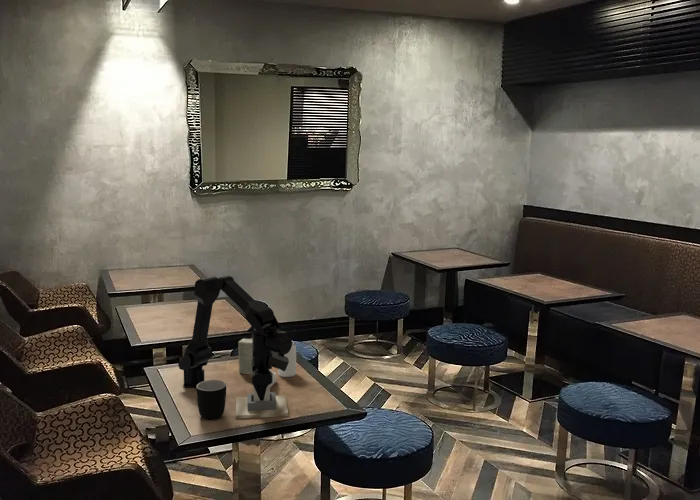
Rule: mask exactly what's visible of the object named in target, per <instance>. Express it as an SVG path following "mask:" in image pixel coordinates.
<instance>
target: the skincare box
mask: <svg viewBox="0 0 700 500" xmlns="http://www.w3.org/2000/svg"><path fill="white" fill-rule="evenodd" d="M237 344H238V345H237V346H238V347H237V348H238V373H239V374H245V375H246V374H247V375H252V373H253V371H252V364H251V358H252V338H242V339H240V340H239V341H238V342H237Z"/></svg>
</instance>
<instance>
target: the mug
mask: <svg viewBox="0 0 700 500" xmlns="http://www.w3.org/2000/svg"><path fill="white" fill-rule="evenodd" d="M195 388H196V390H195V392H196V402H197V408H198V413H199V416H200V418H201V419H202V420H204V421H209V422H210V421H216V420H217V421H218V420H219V419H221V418H222V417H223V415H224V412H225V408H226V401H227V383H226V382H225V381H223V380H220V379H219V380H218V379H209V380H208V379H207V380H205V381H203V382H200V383H198V384H197V386H196V387H195Z"/></svg>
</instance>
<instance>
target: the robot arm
mask: <svg viewBox="0 0 700 500" xmlns="http://www.w3.org/2000/svg"><path fill="white" fill-rule="evenodd" d="M221 291H222V292H223V293H224V294H225V295H226V296H227V297H228V298H229V299H230V300H231V301H232V302H233V303H234V304H236V306H237V307H239V309H240V310H241V311H242V312H243V313H244V318H245V320H246V321H247V322H248V325H250V327H248V329H247V333H251V334H252V335H251V336H252V337H251V339H252V358H251V364H252V371H253V373H252V374H251V384H252V386H253V389H254V388H255V390H256V392H257V395H258V397H259V399H260V401H263V400H264V397H265V392H266V388H267V386H268V385H269V384H271V383H272V380H273V377H272V372H273V371H271V372H270V371H269V369H271V370H272V369H273V368H275V369H281V370H282V371H286V368H287V366H288V363H289V359H288V358H287V357H285V355H284V354H287V353H288V352H289V351H290V350H291V347H292V341H293V340H292V339H291V336H289V335H288V332H287V331H284V330H281V329H282V328H281V326H280V323H279V321H278V320H277V318H276V316H275V313H274V310H273V309H272V308H271V307H269V306H268V305H266V304H265V303H262V302H260V301H257V300H256V299H255V298H253V296H251V295H250V294H249V293H248V292H247V291H246V290H245V289H244V288H243V287H241V286H240V285H239V284H238V282H236V281H235V280H234V278H233V276H231V275H225V276H220V277H217V276H210V277H209V276H208V277H203V278H199V279H197V280H196V281H195V283H194V291H193V293H194V298H195V299H196V301H197V306H196V310H195V311H196V312H195V318H194V323H193V324H194V326H193V332H192V336H191V337H192V339H191V340H190V342H189V343H188V345H186V348H185V351H184V354H183V357H182V358H181V359H180V360H179V361H178V362H177V365H178V368H179V370H182V371H183V384H182V387H183V388H196V386H197V384H198V383H200V382H203V381H206V380H205V378H206V377H205V375H206V374H205V369H203V367H204V366H208V363H209V360H210V359H211V358H212V356H211V355H212V352H213V351H212V350H213V348H212V347H211V346H210V344H209V343H208V335H209V330H210V322H211V317H212V310H213V305H214V303H215V302H216V301H217V299H218V297H219V295H220V292H221Z"/></svg>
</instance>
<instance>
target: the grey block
mask: <svg viewBox="0 0 700 500" xmlns="http://www.w3.org/2000/svg"><path fill="white" fill-rule="evenodd" d="M270 389H271V387H270V384H269V385H268V386H267V388H266V392H265V397H264V400H263V401H270V393H271V390H270ZM253 393H254V401H260V399H259V397H258V395H257V392H256V390H255V388H254V387H253Z"/></svg>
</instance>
